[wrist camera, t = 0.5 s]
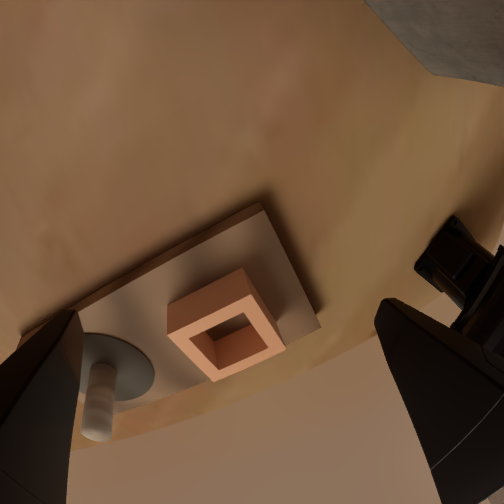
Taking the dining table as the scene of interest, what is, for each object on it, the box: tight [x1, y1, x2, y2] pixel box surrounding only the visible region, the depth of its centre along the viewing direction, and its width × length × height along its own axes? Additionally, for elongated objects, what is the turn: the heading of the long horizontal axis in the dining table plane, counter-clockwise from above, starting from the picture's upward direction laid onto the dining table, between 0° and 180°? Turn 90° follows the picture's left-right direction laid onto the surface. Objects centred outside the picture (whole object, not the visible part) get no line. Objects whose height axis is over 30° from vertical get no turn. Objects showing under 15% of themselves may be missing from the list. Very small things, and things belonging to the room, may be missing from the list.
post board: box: [16, 202, 321, 442], centre depth 22 cm, size 24×12×8 cm, turn 116°
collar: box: [167, 267, 286, 382], centre depth 22 cm, size 6×6×3 cm
